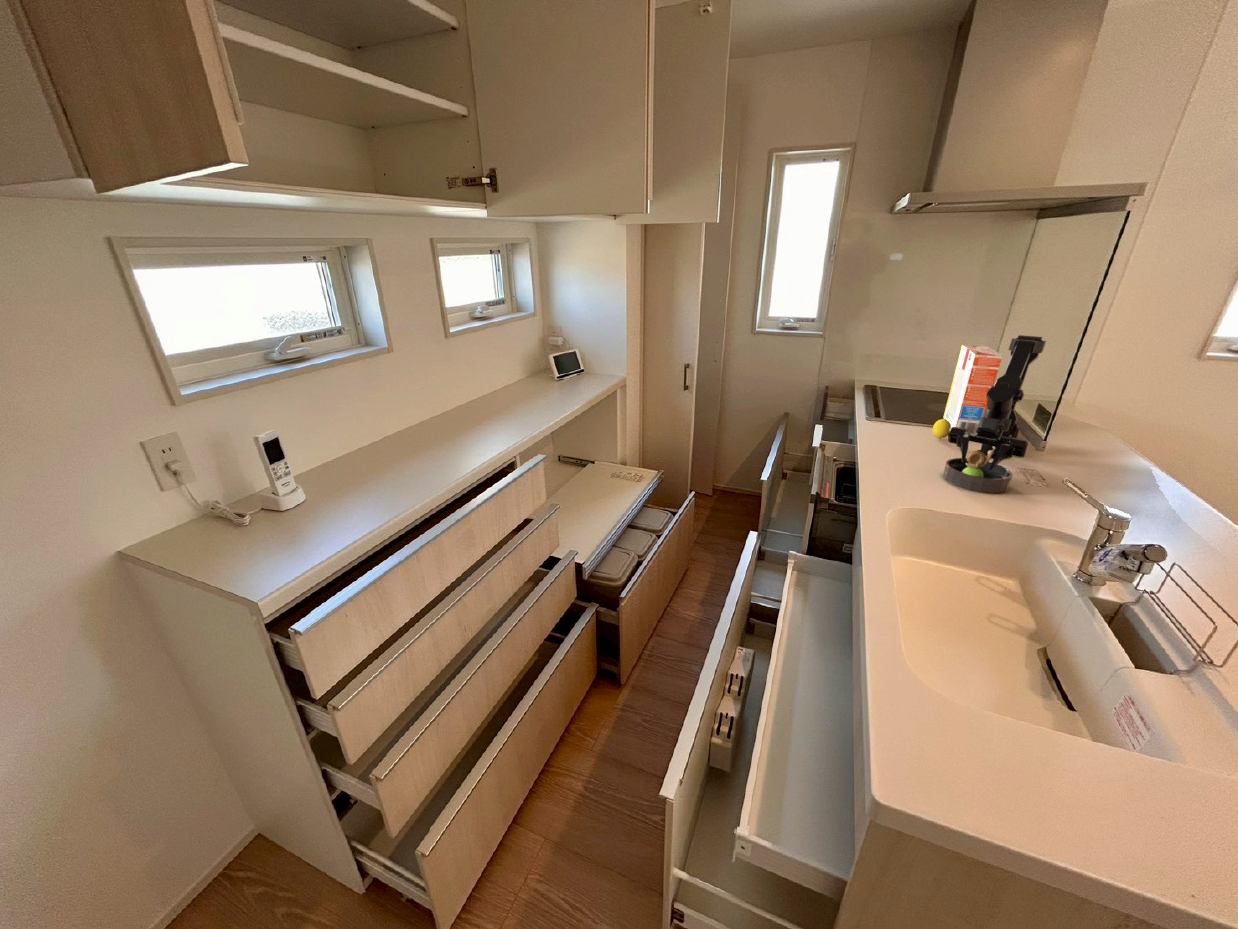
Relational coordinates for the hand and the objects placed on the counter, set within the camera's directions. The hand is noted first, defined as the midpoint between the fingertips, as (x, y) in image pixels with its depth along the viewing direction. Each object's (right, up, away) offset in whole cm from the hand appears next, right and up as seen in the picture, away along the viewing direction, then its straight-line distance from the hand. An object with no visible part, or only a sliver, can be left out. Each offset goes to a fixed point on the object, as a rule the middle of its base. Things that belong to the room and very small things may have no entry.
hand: (976, 466), depth 142 cm
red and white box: (+33, +15, +54) cm, 65 cm away
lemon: (+16, +10, +41) cm, 45 cm away
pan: (+4, -5, +6) cm, 8 cm away
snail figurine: (+1, -6, +3) cm, 7 cm away
